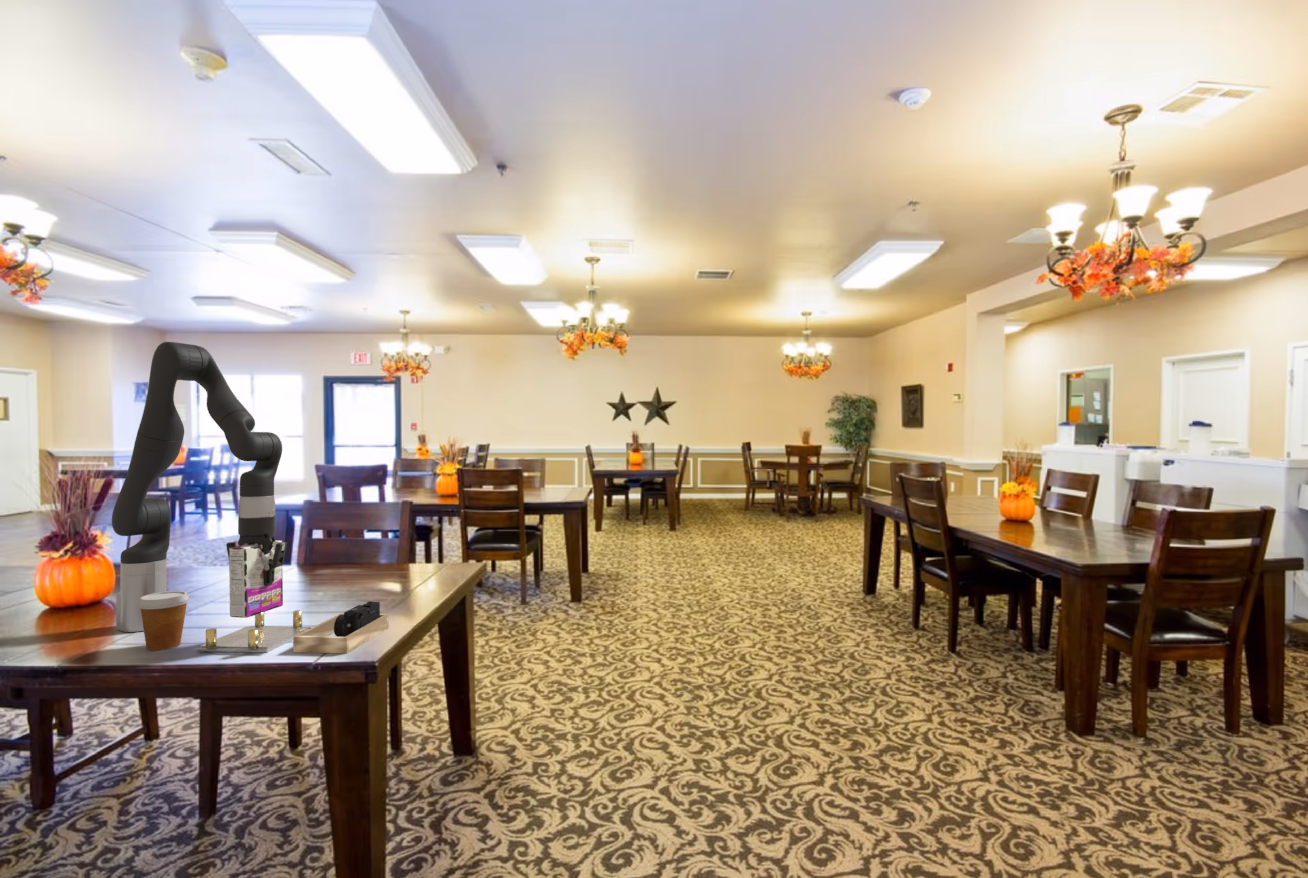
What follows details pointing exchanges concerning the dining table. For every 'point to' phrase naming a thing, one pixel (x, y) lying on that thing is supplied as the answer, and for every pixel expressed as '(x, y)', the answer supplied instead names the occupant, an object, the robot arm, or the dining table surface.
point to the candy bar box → (252, 582)
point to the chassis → (254, 636)
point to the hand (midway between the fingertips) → (256, 584)
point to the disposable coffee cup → (163, 619)
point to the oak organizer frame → (322, 643)
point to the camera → (356, 618)
